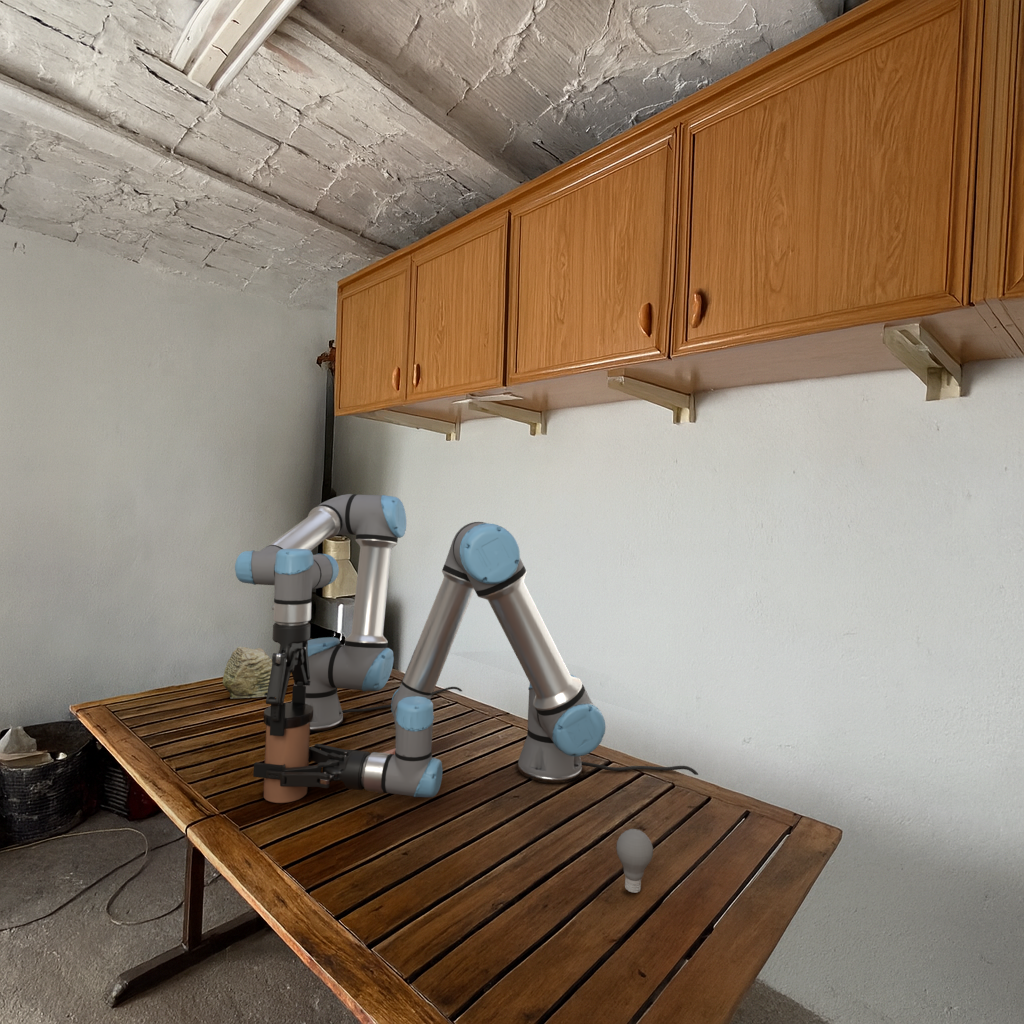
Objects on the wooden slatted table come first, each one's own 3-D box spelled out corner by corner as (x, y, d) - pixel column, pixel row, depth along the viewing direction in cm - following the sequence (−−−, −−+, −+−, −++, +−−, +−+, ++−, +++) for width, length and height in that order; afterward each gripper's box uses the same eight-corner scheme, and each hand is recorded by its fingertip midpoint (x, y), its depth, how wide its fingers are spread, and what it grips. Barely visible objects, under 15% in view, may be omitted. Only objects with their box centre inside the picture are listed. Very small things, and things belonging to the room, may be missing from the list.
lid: (261, 714, 137) (261, 705, 137) (308, 709, 141) (309, 700, 141) (265, 730, 128) (266, 720, 128) (316, 724, 132) (317, 714, 132)
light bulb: (610, 879, 108) (613, 822, 108) (644, 879, 109) (647, 822, 109) (619, 902, 102) (622, 840, 102) (655, 901, 103) (658, 840, 103)
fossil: (218, 695, 195) (220, 647, 195) (278, 685, 208) (279, 640, 207) (228, 703, 189) (230, 653, 188) (289, 692, 201) (290, 645, 201)
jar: (304, 781, 141) (307, 704, 140) (310, 798, 133) (313, 717, 132) (261, 787, 137) (264, 708, 136) (265, 806, 129) (268, 722, 129)
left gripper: (295, 611, 146) (291, 706, 146) (249, 632, 122) (245, 745, 123) (327, 613, 146) (323, 707, 146) (288, 634, 122) (284, 747, 123)
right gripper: (346, 814, 121) (237, 801, 125) (384, 767, 143) (290, 757, 146) (347, 775, 121) (238, 763, 124) (385, 734, 143) (292, 725, 146)
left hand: (288, 725), depth 134 cm, fingers open, 11 cm apart
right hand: (266, 760), depth 135 cm, fingers closed on jar, 9 cm apart
